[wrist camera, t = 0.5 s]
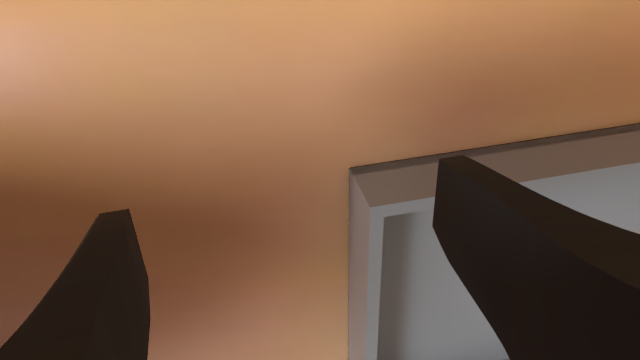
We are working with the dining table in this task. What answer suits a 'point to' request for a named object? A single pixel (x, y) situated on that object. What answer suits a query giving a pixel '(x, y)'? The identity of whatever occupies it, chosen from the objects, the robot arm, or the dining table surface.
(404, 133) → the dining table surface
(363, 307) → the box
